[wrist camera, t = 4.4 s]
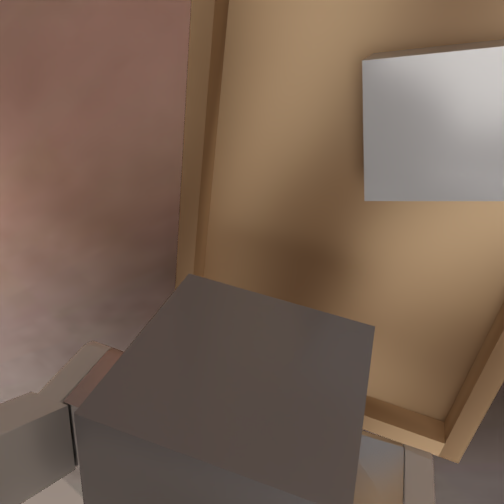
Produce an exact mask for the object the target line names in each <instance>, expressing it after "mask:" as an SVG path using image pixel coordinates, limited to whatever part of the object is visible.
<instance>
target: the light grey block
mask: <svg viewBox="0 0 504 504" xmlns="http://www.w3.org/2000/svg"><path fill="white" fill-rule="evenodd" d="M362 81H363V141H364V201H504V39H500V40H491V41H482V42H472V43H463V44H453V45H444V46H435V47H425V48H416V49H407V50H397V51H388V52H378V53H372V54H371V55H369V56H368V57H367V58H365V59H364V60H362Z"/></svg>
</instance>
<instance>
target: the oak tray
mask: <svg viewBox="0 0 504 504" xmlns="http://www.w3.org/2000/svg"><path fill="white" fill-rule="evenodd" d="M500 39H504V0H191V15H190V33H189V50H188V68H187V86H186V104H185V122H184V139H183V157H182V175H181V193H180V210H179V228H178V246H177V264H176V282H175V290H176V289H177V287H178V286H179V285H180V284H181V282H182V281H183V280H184V279H185V278H186V276H187V275H188V274H193V275H196V276H200V277H203V278H207V279H210V280H214V281H217V282H221V283H224V284H228V285H231V286H235V287H238V288H242V289H245V290H249V291H253V292H256V293H260V294H263V295H267V296H270V297H274V298H277V299H281V300H284V301H288V302H291V303H295V304H298V305H302V306H305V307H309V308H312V309H316V310H319V311H323V312H326V313H330V314H333V315H337V316H340V317H344V318H347V319H351V320H354V321H358V322H361V323H365V324H368V325H372V326H375V332H374V340H373V348H372V356H371V364H370V372H369V380H368V388H367V396H366V404H365V412H364V420H363V428H362V429H364V430H367V431H370V432H372V433H375V434H378V435H381V436H383V437H386V438H389V439H392V440H395V441H397V442H400V443H403V444H406V445H408V446H411V447H414V448H418V449H421V450H424V451H427V452H430V453H431V454H433V455H436V456H439V457H442V458H445V459H447V460H450V461H453V462H456V463H459V461H460V459H461V458H462V456H463V454H464V452H465V450H466V448H467V447H468V445H469V443H470V441H471V439H472V438H473V436H474V434H475V432H476V430H477V429H478V427H479V425H480V423H481V421H482V420H483V418H484V416H485V414H486V412H487V411H488V409H489V407H490V405H491V403H492V402H493V400H494V398H495V396H496V394H497V392H498V391H499V389H500V387H501V385H502V383H503V382H504V201H364V141H363V81H362V60H364V59H365V58H367V57H368V56H369V55H371V54H372V53H378V52H388V51H397V50H407V49H416V48H425V47H435V46H444V45H453V44H463V43H472V42H482V41H491V40H500Z"/></svg>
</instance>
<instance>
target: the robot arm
mask: <svg viewBox="0 0 504 504" xmlns="http://www.w3.org/2000/svg"><path fill="white" fill-rule="evenodd" d="M123 353H124V351H121V350H118V349H115V348H112V347H109V346H106V345H103V344H100V343H98V342H95V341H91V342H89V343H87V344H85V345H84V346H83V347H82V348H81V349H80V350H79V351H78V352H77V353H76V354H75V355H74V356H73V357H72V358H71V359H70V360H69V362H68V363H67V364H66V365H65V366H64V367H63V368H62V369H61V370H60V371H59V372H58V373H57V374H56V375H55V376H54V377H53V378H52V379H51V380H50V381H49V382H48V383H47V384H46V385H45V387H44V388H43V389H42V390H41V391H40V392H39V393H38V394H37V393H34V392H29V393H27V394H24V395H21V396H19V397H16V398H14V399H11V400H9V401H6V402H4V403H1V404H0V504H21V503H23V502H25V501H26V500H28V499H29V498H31V497H33V496H34V495H35V494H37V493H39V492H40V491H42V490H44V489H45V488H47V487H48V486H50V485H51V484H53V483H55V482H56V481H58V480H59V479H61V478H63V477H64V476H66V475H67V474H69V473H71V472H72V471H74V470H75V467H78V468H80V466H79V457H78V448H77V439H76V430H75V421H74V413H75V411H76V410H77V409H78V408H79V406H80V405H81V404H82V403H83V402H84V400H85V399H86V398H87V397H88V396H89V394H90V393H91V392H92V391H93V389H94V388H95V387H96V386H97V385H98V383H99V382H100V381H101V380H102V379H103V377H104V376H105V375H106V374H107V372H108V371H109V370H110V369H111V368H112V366H113V365H114V364H115V363H116V361H117V360H118V359H119V358H120V357H121V355H122V354H123ZM353 504H435V486H434V463H433V457H432V454H431V453H430V452H427V451H424V450H421V449H418V448H414V447H411V446H408V445H405V444H403V445H402V443H400V442H397V441H394V440H391V439H388V438H384V437H381V436H378V435H375V434H372V433H369V432H366V431H362V436H361V444H360V452H359V460H358V468H357V476H356V484H355V492H354V500H353Z"/></svg>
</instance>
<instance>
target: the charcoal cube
mask: <svg viewBox="0 0 504 504" xmlns="http://www.w3.org/2000/svg"><path fill="white" fill-rule="evenodd" d="M374 332H375V326H372V325H368V324H365V323H361V322H358V321H354V320H351V319H347V318H344V317H340V316H337V315H333V314H330V313H326V312H323V311H319V310H316V309H312V308H309V307H305V306H302V305H298V304H295V303H291V302H288V301H284V300H281V299H277V298H274V297H270V296H267V295H263V294H260V293H256V292H253V291H249V290H245V289H242V288H238V287H235V286H231V285H228V284H224V283H221V282H217V281H214V280H210V279H207V278H203V277H200V276H196V275H193V274H188V275H187V276H186V278H185V279H184V280H183V281H182V282H181V284H180V285H179V286H178V287H177V289H176V290H175V291H174V292H173V293H172V295H171V296H170V297H169V298H168V299H167V301H166V302H165V303H164V304H163V306H162V307H161V308H160V309H159V310H158V312H157V313H156V314H155V315H154V316H153V318H152V319H151V320H150V321H149V323H148V324H147V325H146V326H145V327H144V329H143V330H142V331H141V332H140V334H139V335H138V336H137V337H136V338H135V340H134V341H133V342H132V343H131V344H130V346H129V347H128V348H127V349H126V351H125V352H124V353H123V354H122V355H121V357H120V358H119V359H118V360H117V361H116V363H115V364H114V365H113V366H112V368H111V369H110V370H109V371H108V372H107V374H106V375H105V376H104V377H103V379H102V380H101V381H100V382H99V383H98V385H97V386H96V387H95V388H94V389H93V391H92V392H91V393H90V394H89V396H88V397H87V398H86V399H85V400H84V402H83V403H82V404H81V405H80V406H79V408H78V409H77V410H76V411H75V413H74V421H75V430H76V439H77V448H78V457H79V466H80V475H81V484H82V492H83V501H84V504H353V500H354V492H355V484H356V476H357V468H358V460H359V452H360V444H361V436H362V428H363V420H364V412H365V404H366V396H367V388H368V380H369V372H370V364H371V356H372V348H373V340H374Z"/></svg>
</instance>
